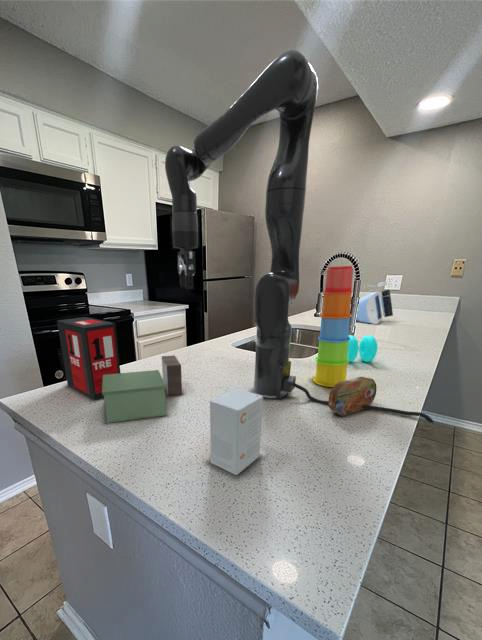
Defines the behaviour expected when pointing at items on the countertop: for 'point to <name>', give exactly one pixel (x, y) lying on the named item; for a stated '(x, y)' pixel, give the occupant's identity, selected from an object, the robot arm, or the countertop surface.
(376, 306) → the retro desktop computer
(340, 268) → the stacking cups
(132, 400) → the toy box
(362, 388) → the tin
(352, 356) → the cyan double-lobed piece
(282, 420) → the countertop surface
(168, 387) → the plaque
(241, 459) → the small box
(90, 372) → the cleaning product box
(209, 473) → the countertop surface
